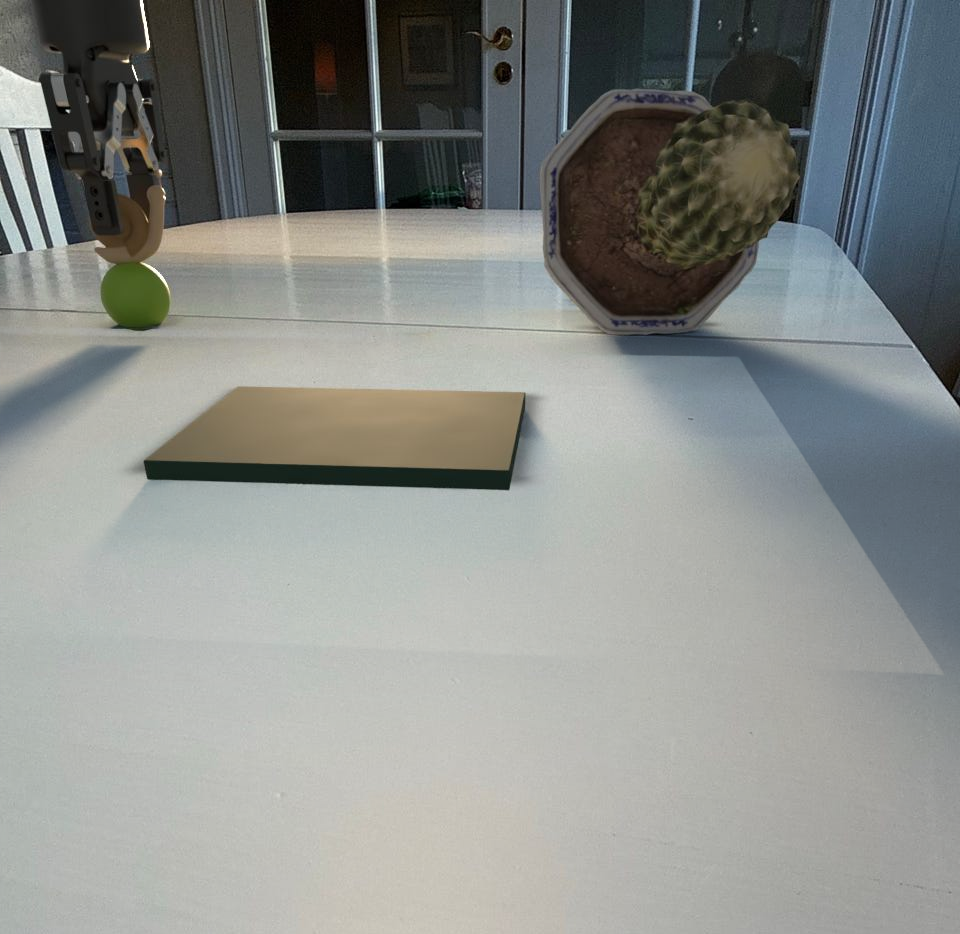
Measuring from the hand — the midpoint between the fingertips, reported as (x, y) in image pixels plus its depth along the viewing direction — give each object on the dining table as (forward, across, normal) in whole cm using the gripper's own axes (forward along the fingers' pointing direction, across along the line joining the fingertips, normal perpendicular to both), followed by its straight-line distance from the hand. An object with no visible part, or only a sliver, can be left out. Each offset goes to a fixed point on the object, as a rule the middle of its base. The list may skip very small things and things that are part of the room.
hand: (130, 228), depth 72 cm
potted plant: (+8, -1, +42) cm, 43 cm away
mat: (+8, +28, +24) cm, 38 cm away
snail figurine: (+8, 0, 0) cm, 8 cm away
